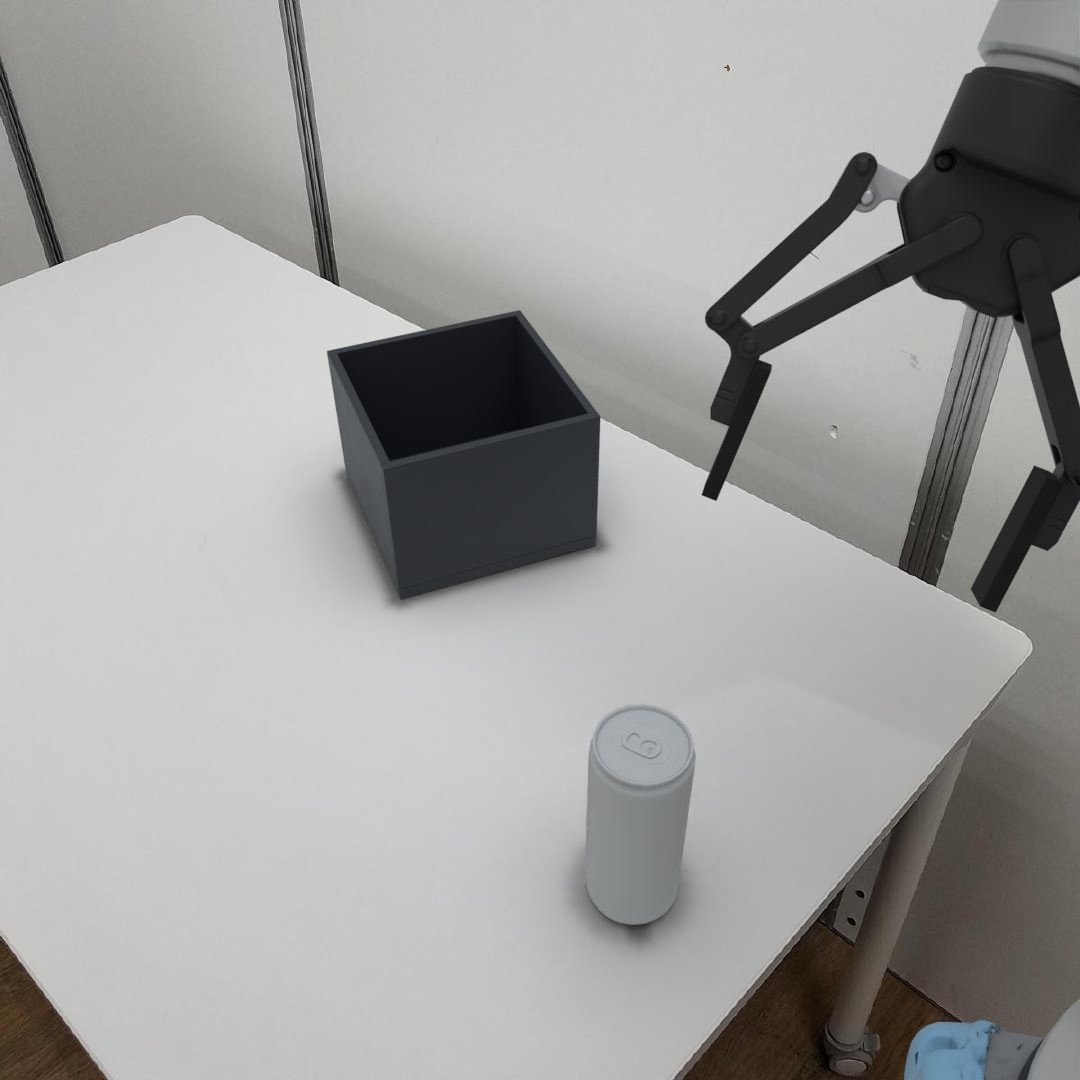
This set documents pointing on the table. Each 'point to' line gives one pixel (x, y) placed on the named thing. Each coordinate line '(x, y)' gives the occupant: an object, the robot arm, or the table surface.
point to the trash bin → (466, 450)
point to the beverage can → (637, 811)
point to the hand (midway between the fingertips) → (844, 546)
